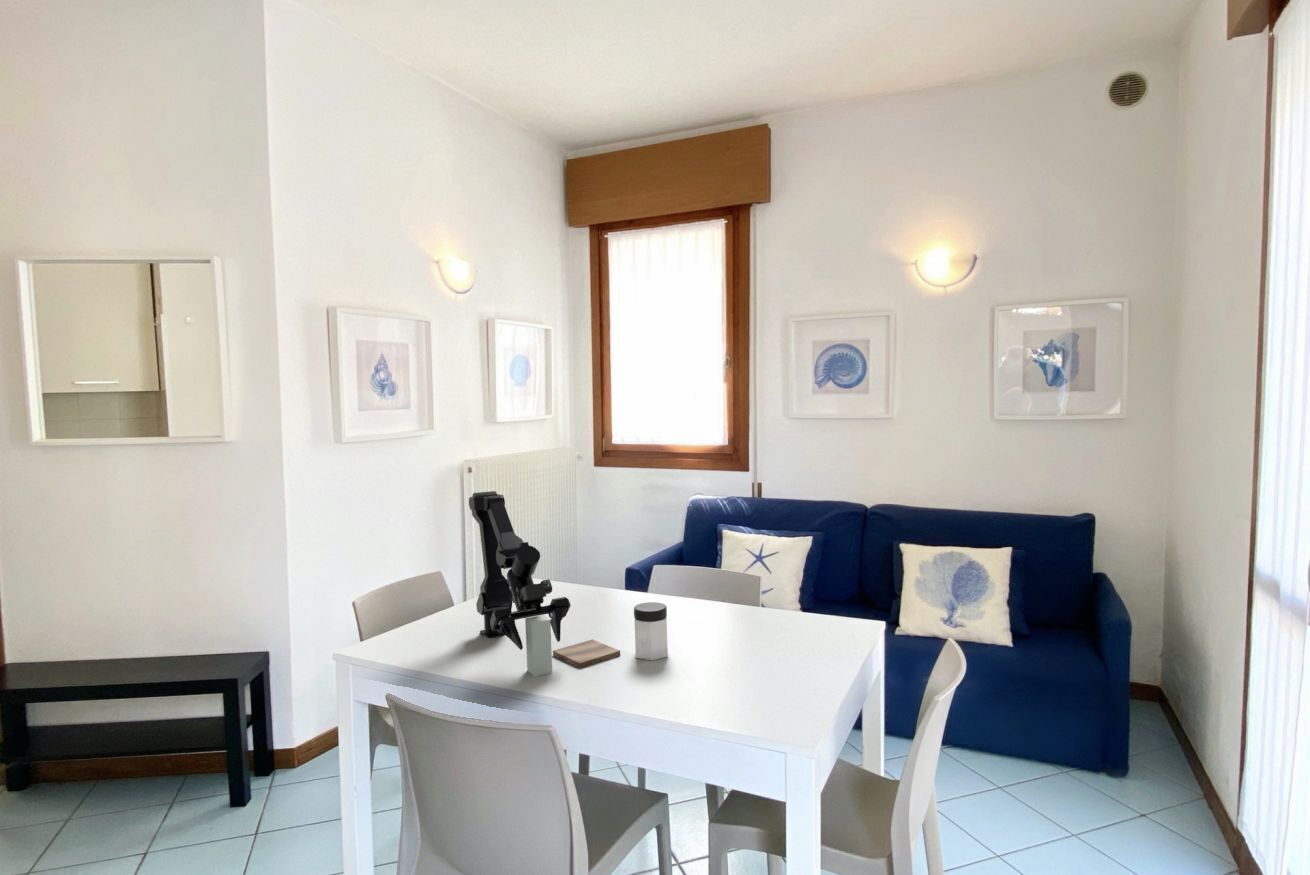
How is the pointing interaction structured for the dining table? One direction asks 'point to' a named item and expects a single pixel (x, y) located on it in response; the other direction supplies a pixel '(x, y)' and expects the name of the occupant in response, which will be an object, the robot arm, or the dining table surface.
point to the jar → (651, 631)
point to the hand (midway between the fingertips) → (540, 644)
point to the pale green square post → (538, 645)
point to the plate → (586, 653)
